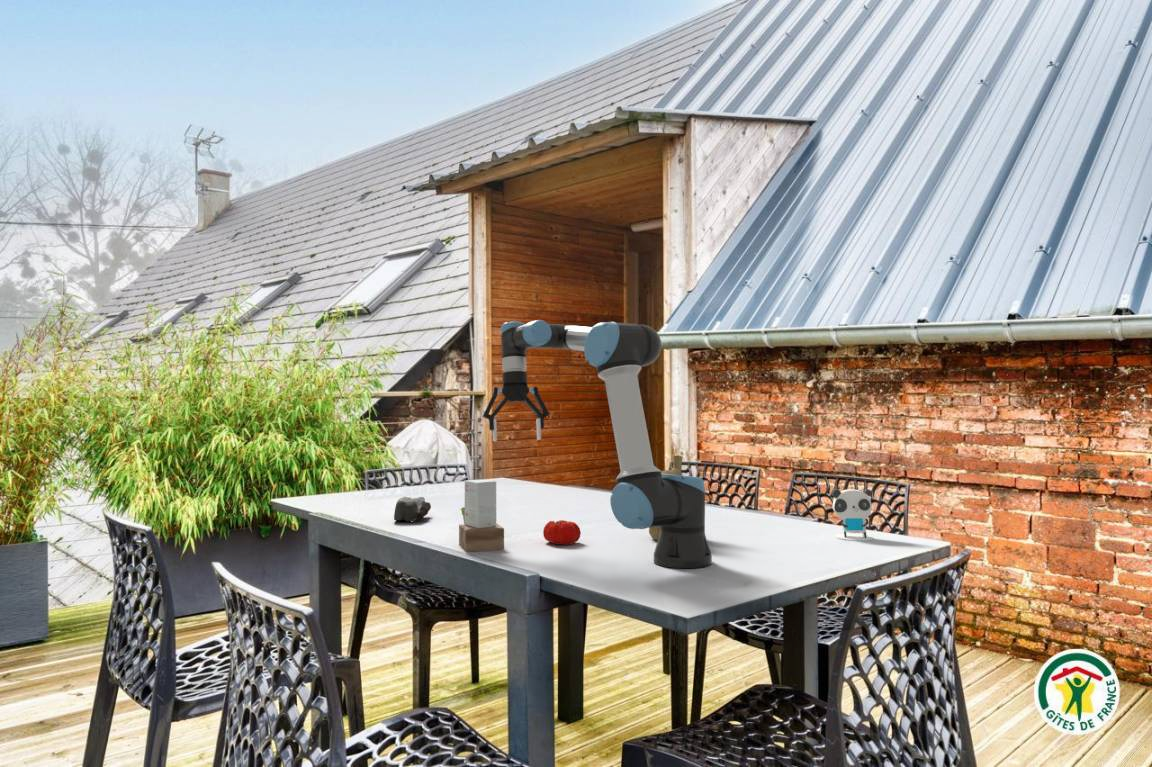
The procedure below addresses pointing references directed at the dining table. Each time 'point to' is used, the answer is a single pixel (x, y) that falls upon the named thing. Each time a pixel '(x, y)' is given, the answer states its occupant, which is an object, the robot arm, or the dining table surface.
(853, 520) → the panda figurine
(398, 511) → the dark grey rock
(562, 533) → the tomato
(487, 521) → the small box
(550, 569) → the dining table surface
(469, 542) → the walnut block
